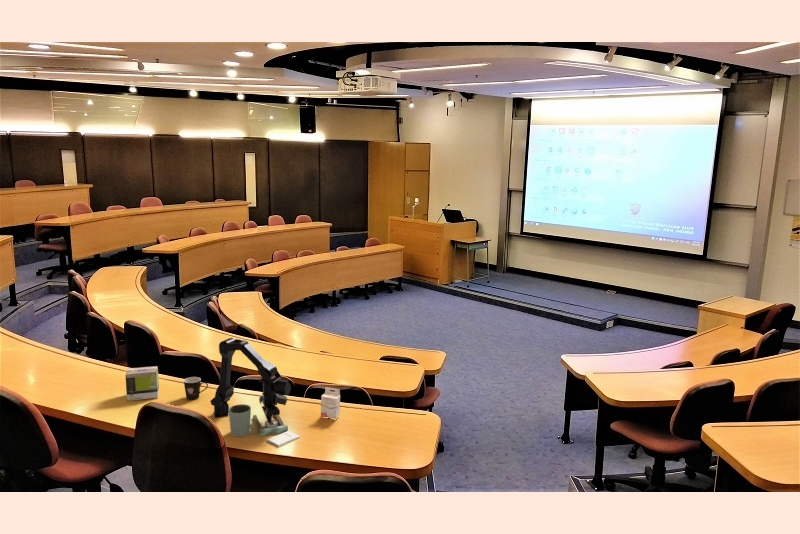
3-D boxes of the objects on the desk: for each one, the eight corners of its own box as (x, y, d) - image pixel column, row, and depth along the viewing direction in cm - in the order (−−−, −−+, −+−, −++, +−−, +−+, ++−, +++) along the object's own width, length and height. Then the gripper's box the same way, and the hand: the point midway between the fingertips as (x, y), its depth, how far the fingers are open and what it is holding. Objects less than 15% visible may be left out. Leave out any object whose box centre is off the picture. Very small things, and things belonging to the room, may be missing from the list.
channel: (259, 436, 262) (259, 431, 262) (252, 418, 280) (251, 413, 280) (287, 431, 268) (287, 426, 267) (278, 414, 285) (278, 409, 285)
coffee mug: (180, 399, 300) (179, 381, 298) (192, 393, 308) (191, 375, 306) (198, 403, 295) (197, 385, 294) (209, 397, 303) (208, 379, 302)
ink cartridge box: (320, 418, 283) (320, 390, 281) (324, 414, 288) (324, 386, 285) (336, 420, 281) (336, 392, 279) (340, 416, 286) (340, 389, 283)
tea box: (159, 391, 309) (158, 365, 306) (157, 398, 300) (156, 371, 297) (129, 393, 304) (127, 367, 302) (126, 401, 295) (125, 374, 292)
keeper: (266, 431, 267) (266, 425, 266) (263, 426, 272) (263, 420, 271) (278, 429, 269) (278, 423, 269) (275, 424, 274) (275, 418, 274)
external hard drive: (267, 442, 258) (288, 433, 267) (278, 448, 253) (300, 438, 262) (267, 439, 258) (288, 430, 267) (278, 445, 252) (300, 435, 262)
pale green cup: (239, 439, 258) (238, 415, 256) (224, 433, 263) (223, 409, 261) (255, 431, 267) (255, 407, 265) (240, 425, 272) (240, 402, 270)
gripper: (290, 396, 266) (290, 427, 269) (281, 382, 283) (281, 411, 286) (266, 399, 262) (267, 431, 265) (258, 385, 278) (259, 415, 281)
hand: (269, 422), depth 274 cm, fingers closed
